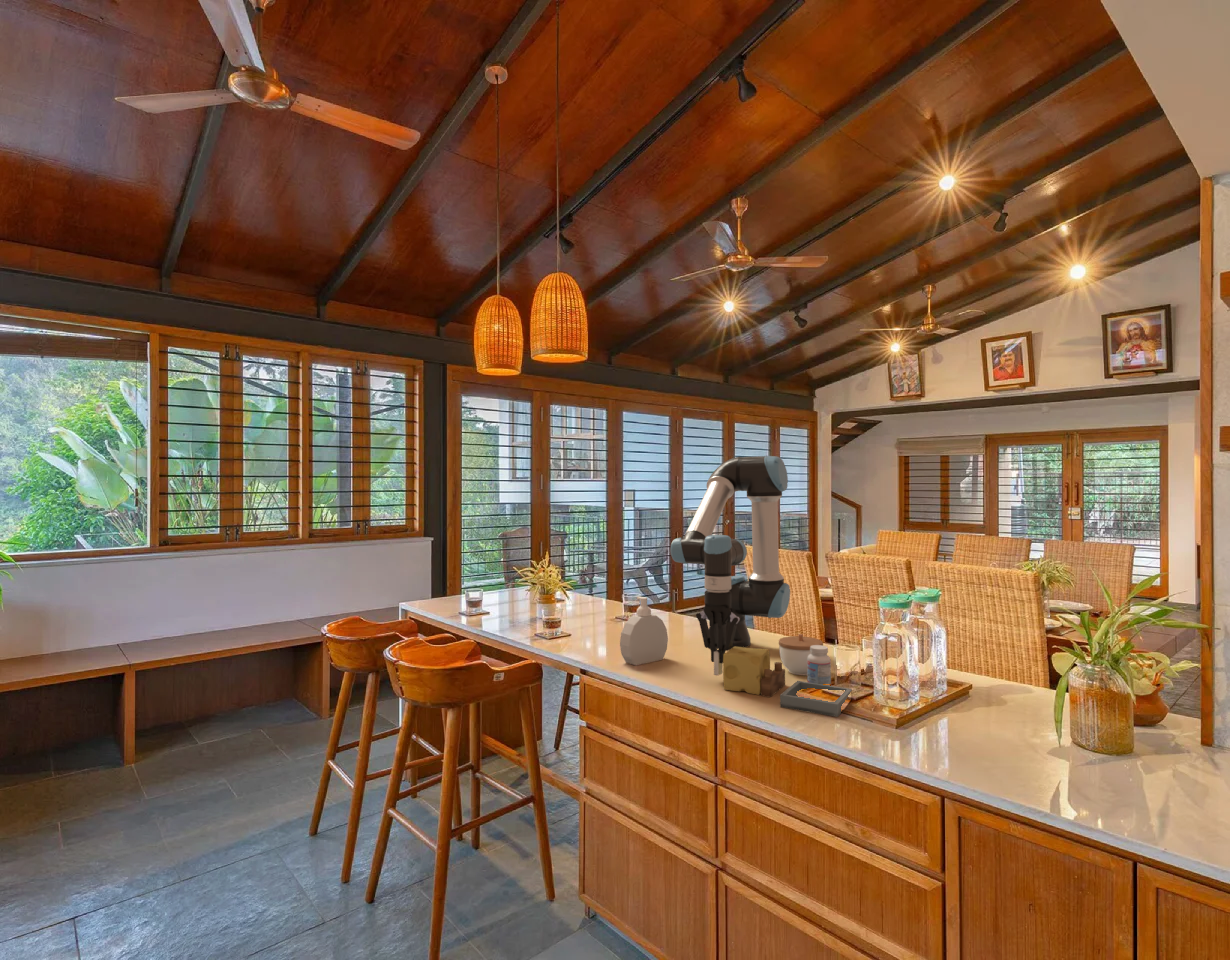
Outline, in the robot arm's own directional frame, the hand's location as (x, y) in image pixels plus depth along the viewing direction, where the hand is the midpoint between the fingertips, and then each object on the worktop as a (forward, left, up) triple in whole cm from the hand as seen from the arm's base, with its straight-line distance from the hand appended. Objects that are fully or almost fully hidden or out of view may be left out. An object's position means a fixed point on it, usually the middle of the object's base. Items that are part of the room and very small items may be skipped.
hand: (718, 673), depth 188 cm
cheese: (+1, +9, -2) cm, 9 cm away
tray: (+5, +29, -2) cm, 29 cm away
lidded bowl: (-21, +17, -2) cm, 27 cm away
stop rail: (0, +16, -2) cm, 16 cm away
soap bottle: (-8, -29, -2) cm, 30 cm away
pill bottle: (-8, +26, -2) cm, 27 cm away
